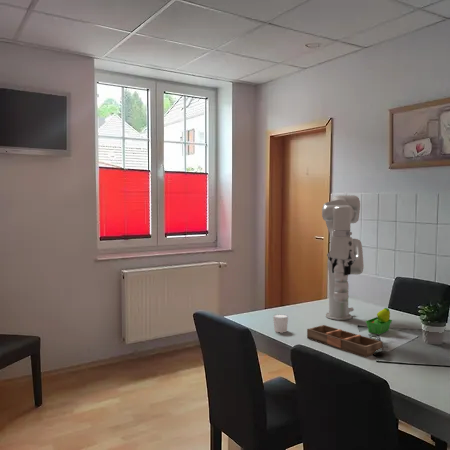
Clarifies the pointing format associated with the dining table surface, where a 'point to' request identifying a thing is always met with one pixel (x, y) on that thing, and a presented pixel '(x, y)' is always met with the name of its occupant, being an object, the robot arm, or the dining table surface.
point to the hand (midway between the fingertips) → (341, 273)
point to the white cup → (280, 323)
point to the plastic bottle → (340, 282)
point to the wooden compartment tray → (344, 340)
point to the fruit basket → (380, 322)
